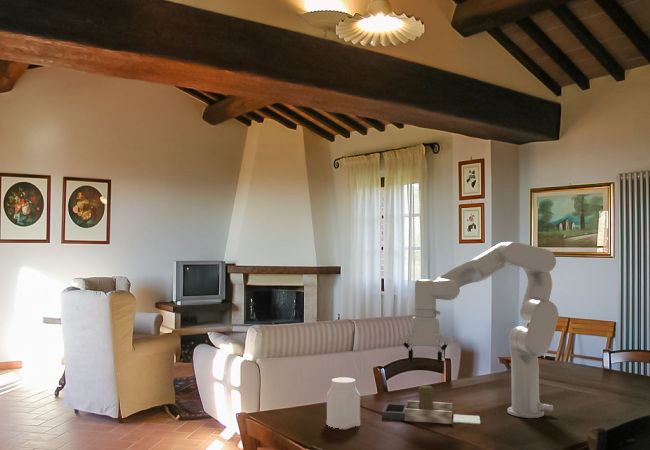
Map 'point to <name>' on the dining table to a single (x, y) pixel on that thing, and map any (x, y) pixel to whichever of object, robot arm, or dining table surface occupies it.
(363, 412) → the dining table surface
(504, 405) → the dining table surface
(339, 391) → the jar
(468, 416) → the pad
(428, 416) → the birch lane
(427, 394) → the cork
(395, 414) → the box
